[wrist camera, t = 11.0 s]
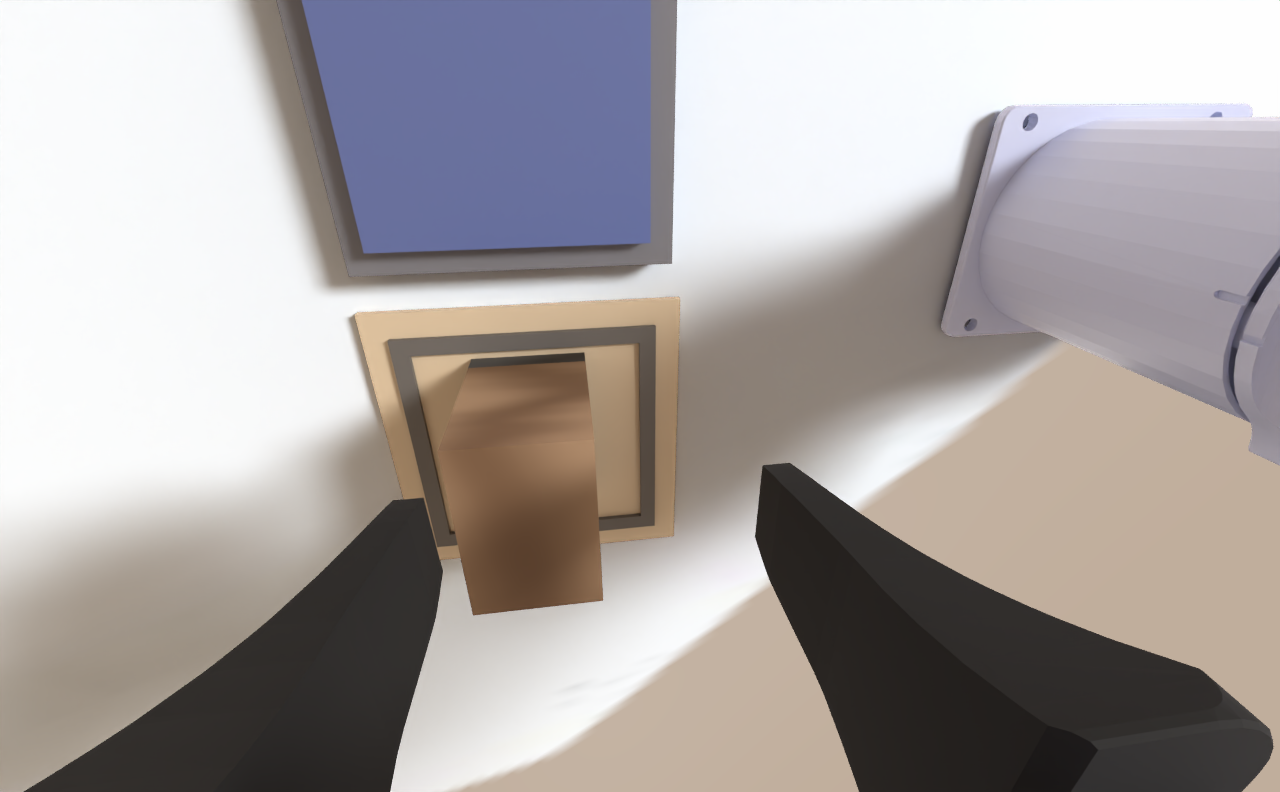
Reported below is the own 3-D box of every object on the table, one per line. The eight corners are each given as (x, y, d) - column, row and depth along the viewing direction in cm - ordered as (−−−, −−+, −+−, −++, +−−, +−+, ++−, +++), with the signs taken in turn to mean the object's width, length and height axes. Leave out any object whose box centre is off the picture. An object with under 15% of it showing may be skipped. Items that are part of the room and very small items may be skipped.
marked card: (678, 296, 19) (681, 300, 19) (672, 531, 24) (674, 539, 24) (357, 312, 18) (352, 317, 17) (421, 556, 23) (419, 565, 22)
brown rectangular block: (584, 352, 19) (594, 439, 14) (592, 485, 22) (603, 600, 17) (471, 358, 19) (437, 451, 14) (494, 494, 22) (473, 615, 16)
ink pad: (670, -134, 14) (685, -167, 12) (665, 255, 18) (675, 267, 17) (256, -154, 13) (213, -193, 11) (361, 267, 17) (341, 281, 16)
